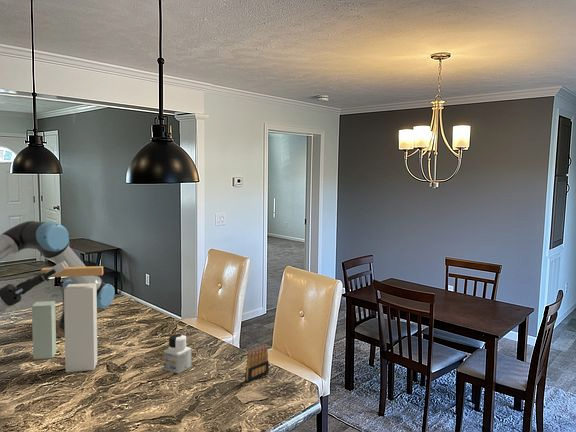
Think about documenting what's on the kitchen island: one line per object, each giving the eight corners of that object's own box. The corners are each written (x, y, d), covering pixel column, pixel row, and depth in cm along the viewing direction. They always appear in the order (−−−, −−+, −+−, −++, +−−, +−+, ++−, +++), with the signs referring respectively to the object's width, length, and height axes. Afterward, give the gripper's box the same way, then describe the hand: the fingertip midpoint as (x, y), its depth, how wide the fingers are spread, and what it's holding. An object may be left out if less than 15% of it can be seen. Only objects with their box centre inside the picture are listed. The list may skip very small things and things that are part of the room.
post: (70, 363, 172) (68, 284, 169) (97, 361, 174) (96, 283, 172) (65, 372, 164) (63, 289, 161) (94, 369, 167) (92, 288, 164)
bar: (43, 275, 164) (43, 267, 164) (103, 273, 170) (103, 266, 169) (41, 277, 161) (41, 269, 161) (102, 275, 167) (102, 267, 166)
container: (163, 369, 168) (163, 337, 167) (176, 362, 175) (176, 331, 174) (178, 374, 165) (178, 341, 164) (191, 366, 172) (191, 334, 171)
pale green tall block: (37, 353, 180) (36, 301, 178) (56, 352, 182) (55, 301, 180) (33, 359, 175) (31, 306, 173) (52, 358, 176) (51, 305, 175)
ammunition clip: (248, 382, 160) (248, 350, 159) (244, 380, 161) (245, 349, 160) (268, 373, 168) (269, 343, 167) (265, 371, 169) (266, 341, 168)
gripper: (18, 300, 169) (75, 268, 173) (3, 312, 153) (65, 277, 157) (6, 284, 167) (64, 252, 171) (-10, 295, 152) (53, 260, 156)
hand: (64, 264), depth 164 cm, fingers closed on bar, 3 cm apart
